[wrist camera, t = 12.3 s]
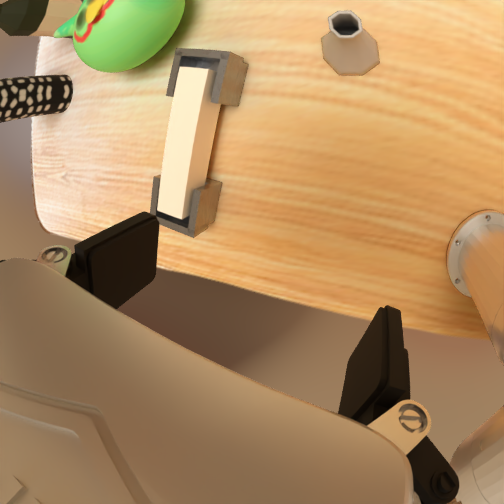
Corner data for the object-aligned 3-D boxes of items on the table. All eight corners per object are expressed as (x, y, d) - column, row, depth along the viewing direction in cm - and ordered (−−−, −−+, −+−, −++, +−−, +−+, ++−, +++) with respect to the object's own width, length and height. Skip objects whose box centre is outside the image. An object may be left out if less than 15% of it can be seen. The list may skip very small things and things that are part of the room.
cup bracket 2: (222, 182, 41) (200, 191, 36) (214, 223, 44) (193, 237, 39) (178, 169, 43) (153, 176, 38) (172, 208, 46) (149, 220, 41)
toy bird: (149, 93, 39) (75, 93, 27) (102, 44, 38) (36, 39, 26) (224, 4, 30) (162, -34, 18) (161, -34, 29) (100, -61, 16)
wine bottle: (102, 23, 36) (-44, 16, 11) (76, 46, 40) (-58, 52, 14) (98, -5, 34) (-34, -19, 8) (73, 18, 37) (-51, 16, 12)
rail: (227, 74, 33) (208, 69, 28) (200, 209, 42) (181, 219, 37) (200, 71, 34) (179, 66, 29) (177, 201, 43) (157, 210, 38)
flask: (335, 84, 31) (325, 68, 22) (311, 35, 29) (293, 7, 20) (389, 68, 27) (397, 46, 19) (363, 19, 26) (362, -15, 17)
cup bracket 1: (249, 61, 33) (230, 51, 28) (238, 106, 36) (217, 103, 31) (200, 55, 34) (176, 48, 29) (191, 97, 38) (166, 95, 32)
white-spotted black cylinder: (64, 67, 43) (-18, 73, 26) (77, 89, 44) (-12, 99, 26) (48, 97, 47) (-28, 109, 30) (61, 120, 48) (-21, 136, 31)
